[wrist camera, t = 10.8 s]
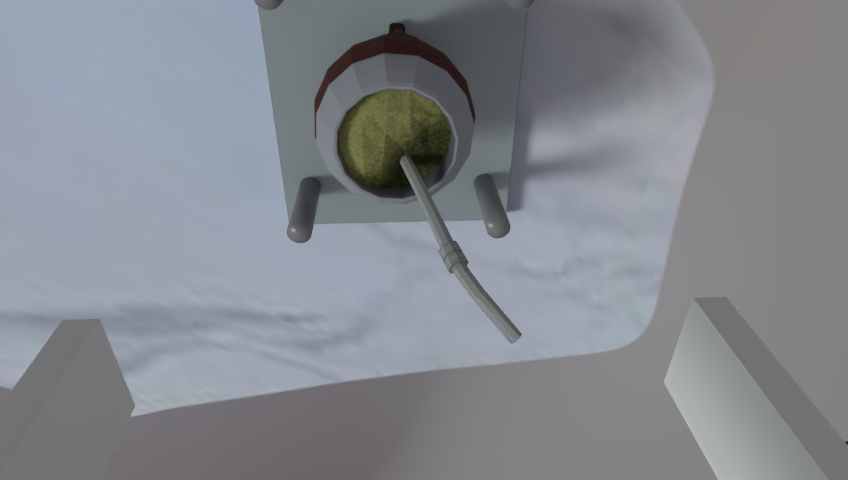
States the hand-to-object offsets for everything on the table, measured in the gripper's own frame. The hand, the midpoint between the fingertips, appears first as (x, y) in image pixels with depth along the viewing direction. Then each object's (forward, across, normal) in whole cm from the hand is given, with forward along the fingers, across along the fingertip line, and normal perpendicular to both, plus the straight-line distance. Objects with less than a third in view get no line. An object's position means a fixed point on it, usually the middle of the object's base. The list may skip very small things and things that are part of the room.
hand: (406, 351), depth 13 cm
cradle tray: (+20, 0, 0) cm, 20 cm away
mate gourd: (+20, 0, 0) cm, 20 cm away
